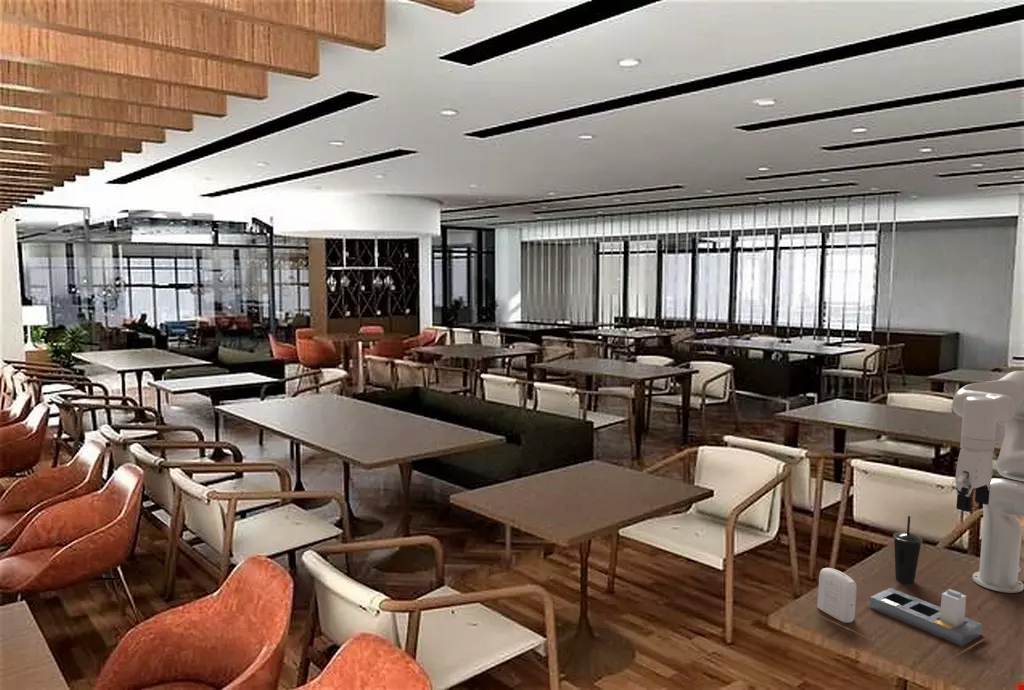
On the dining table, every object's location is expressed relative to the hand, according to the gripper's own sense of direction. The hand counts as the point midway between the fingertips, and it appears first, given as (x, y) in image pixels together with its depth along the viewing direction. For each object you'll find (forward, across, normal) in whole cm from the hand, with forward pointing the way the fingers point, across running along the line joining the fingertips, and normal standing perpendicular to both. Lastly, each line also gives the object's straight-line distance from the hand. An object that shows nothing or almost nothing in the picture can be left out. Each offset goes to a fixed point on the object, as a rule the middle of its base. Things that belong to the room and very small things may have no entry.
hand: (972, 506), depth 193 cm
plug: (+30, +13, +3) cm, 33 cm away
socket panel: (+30, +13, -4) cm, 33 cm away
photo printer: (+31, +29, -19) cm, 46 cm away
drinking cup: (+31, -7, -20) cm, 37 cm away
